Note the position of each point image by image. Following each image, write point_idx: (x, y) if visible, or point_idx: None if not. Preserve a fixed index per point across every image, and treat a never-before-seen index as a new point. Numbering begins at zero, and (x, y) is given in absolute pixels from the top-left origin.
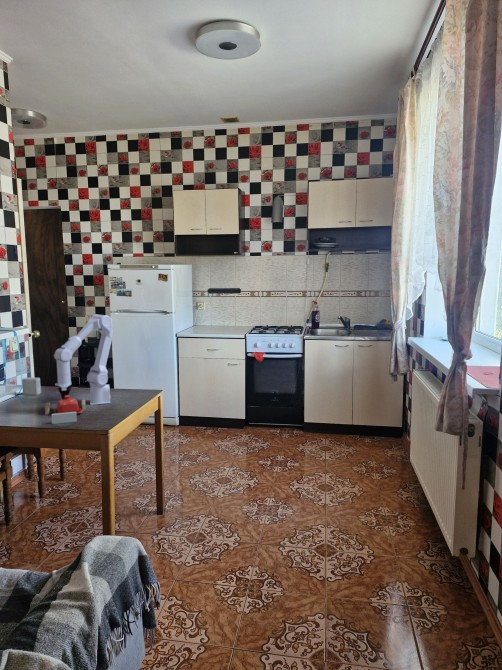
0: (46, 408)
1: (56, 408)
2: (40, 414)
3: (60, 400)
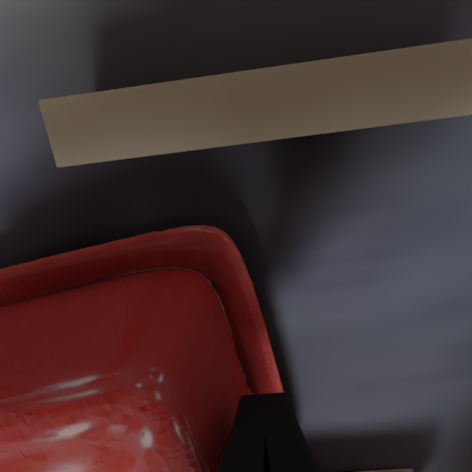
0: (54, 131)
1: (230, 251)
2: (107, 25)
3: (10, 463)
